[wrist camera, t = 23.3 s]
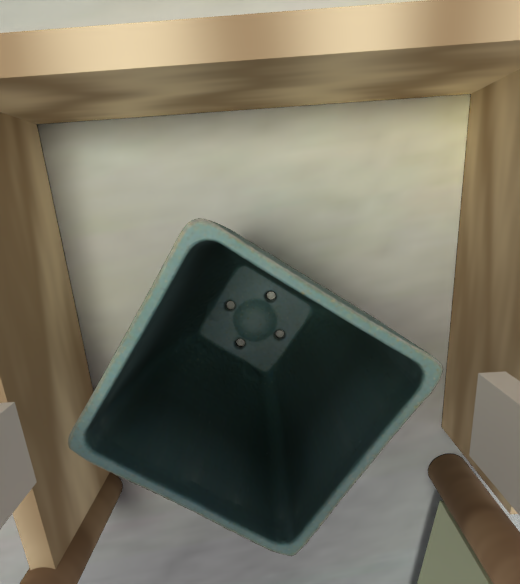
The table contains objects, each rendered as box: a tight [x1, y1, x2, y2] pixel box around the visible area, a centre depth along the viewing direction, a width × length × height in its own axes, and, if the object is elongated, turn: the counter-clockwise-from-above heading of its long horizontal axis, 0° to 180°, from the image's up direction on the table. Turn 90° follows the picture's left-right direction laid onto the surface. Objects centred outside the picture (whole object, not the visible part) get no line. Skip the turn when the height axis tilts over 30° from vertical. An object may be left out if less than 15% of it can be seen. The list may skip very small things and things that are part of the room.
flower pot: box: [68, 218, 443, 556], centre depth 15 cm, size 9×9×9 cm
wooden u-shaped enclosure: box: [0, 0, 520, 584], centre depth 15 cm, size 24×24×8 cm
